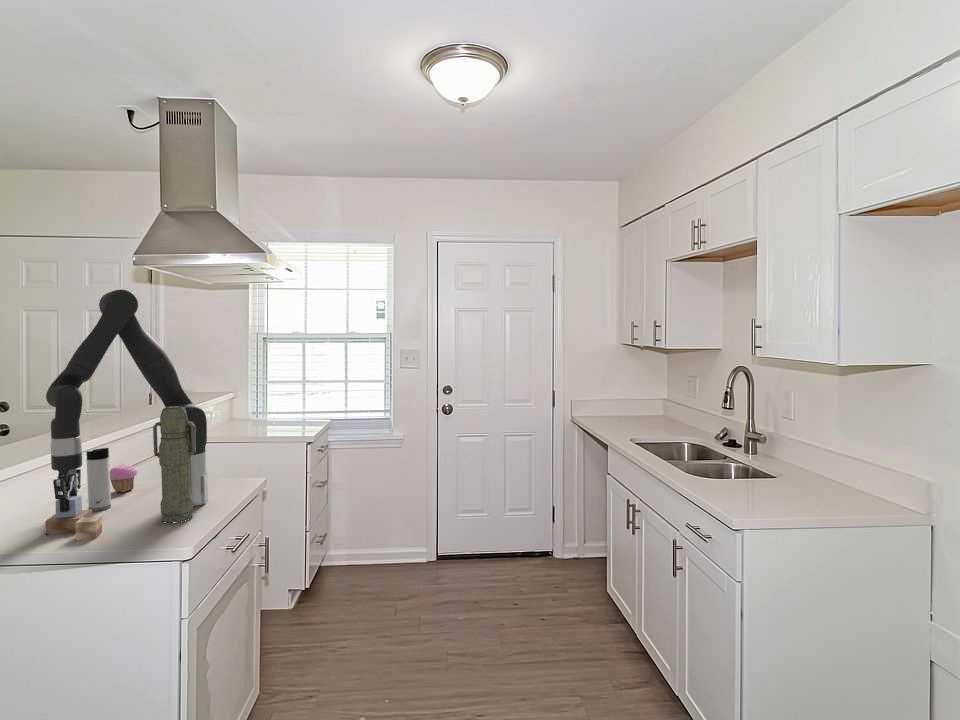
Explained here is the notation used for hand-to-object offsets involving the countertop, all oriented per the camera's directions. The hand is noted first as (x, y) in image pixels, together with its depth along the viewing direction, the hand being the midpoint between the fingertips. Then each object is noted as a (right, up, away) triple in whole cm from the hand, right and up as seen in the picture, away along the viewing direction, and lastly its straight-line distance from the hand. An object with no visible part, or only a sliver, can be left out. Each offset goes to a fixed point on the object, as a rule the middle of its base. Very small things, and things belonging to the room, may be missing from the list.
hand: (68, 508), depth 181 cm
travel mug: (-3, -5, +20) cm, 21 cm away
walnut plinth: (0, -6, 0) cm, 6 cm away
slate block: (0, -2, 0) cm, 2 cm away
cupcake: (-8, -4, +41) cm, 42 cm away
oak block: (+10, -7, -6) cm, 14 cm away
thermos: (+28, -6, +9) cm, 30 cm away
